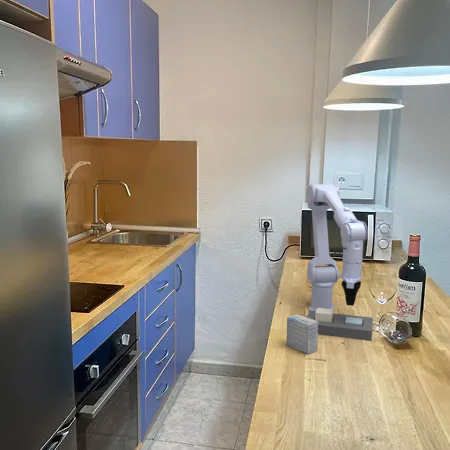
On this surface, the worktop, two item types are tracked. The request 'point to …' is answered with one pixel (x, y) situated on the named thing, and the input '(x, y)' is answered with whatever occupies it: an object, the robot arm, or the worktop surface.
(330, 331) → the grey flat rectangular block
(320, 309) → the cream key
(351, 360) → the worktop surface
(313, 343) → the medicine box
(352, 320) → the blue key
